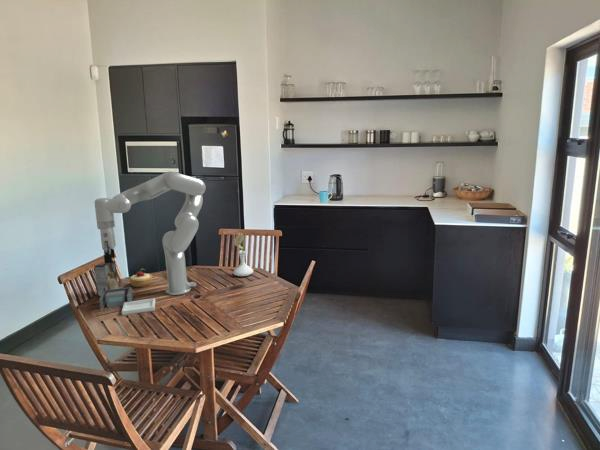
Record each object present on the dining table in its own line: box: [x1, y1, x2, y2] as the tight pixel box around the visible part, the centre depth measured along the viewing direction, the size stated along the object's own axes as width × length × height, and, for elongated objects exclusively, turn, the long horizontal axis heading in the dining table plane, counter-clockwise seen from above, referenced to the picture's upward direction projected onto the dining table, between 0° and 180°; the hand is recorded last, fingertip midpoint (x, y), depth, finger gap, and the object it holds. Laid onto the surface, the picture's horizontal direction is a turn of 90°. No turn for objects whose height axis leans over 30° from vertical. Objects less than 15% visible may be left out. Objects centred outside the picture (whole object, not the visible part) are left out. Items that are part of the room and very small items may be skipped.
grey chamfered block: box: [106, 290, 127, 308], centre depth 216 cm, size 8×5×6 cm, turn 106°
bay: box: [98, 286, 134, 310], centre depth 218 cm, size 13×14×5 cm
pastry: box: [129, 268, 154, 288], centre depth 243 cm, size 12×12×9 cm
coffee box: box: [93, 260, 120, 297], centre depth 232 cm, size 9×6×16 cm
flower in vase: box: [233, 232, 254, 277], centre depth 250 cm, size 13×11×25 cm
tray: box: [121, 297, 156, 317], centre depth 209 cm, size 14×12×2 cm
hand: (109, 260), depth 212 cm, fingers open, 9 cm apart
